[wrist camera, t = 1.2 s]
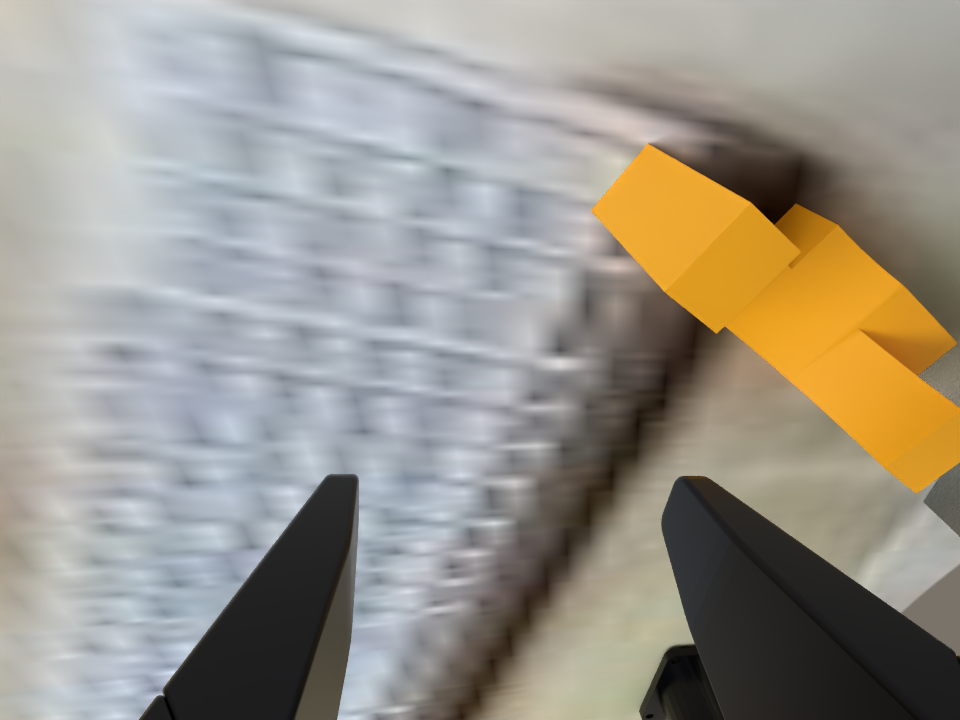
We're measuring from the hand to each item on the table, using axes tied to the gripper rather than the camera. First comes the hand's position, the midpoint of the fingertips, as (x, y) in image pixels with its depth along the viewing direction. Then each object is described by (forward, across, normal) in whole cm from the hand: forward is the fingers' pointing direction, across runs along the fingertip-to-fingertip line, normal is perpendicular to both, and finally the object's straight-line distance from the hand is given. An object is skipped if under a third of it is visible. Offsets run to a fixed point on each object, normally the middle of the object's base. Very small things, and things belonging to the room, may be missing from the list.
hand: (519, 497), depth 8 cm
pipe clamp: (+12, -11, 0) cm, 16 cm away
